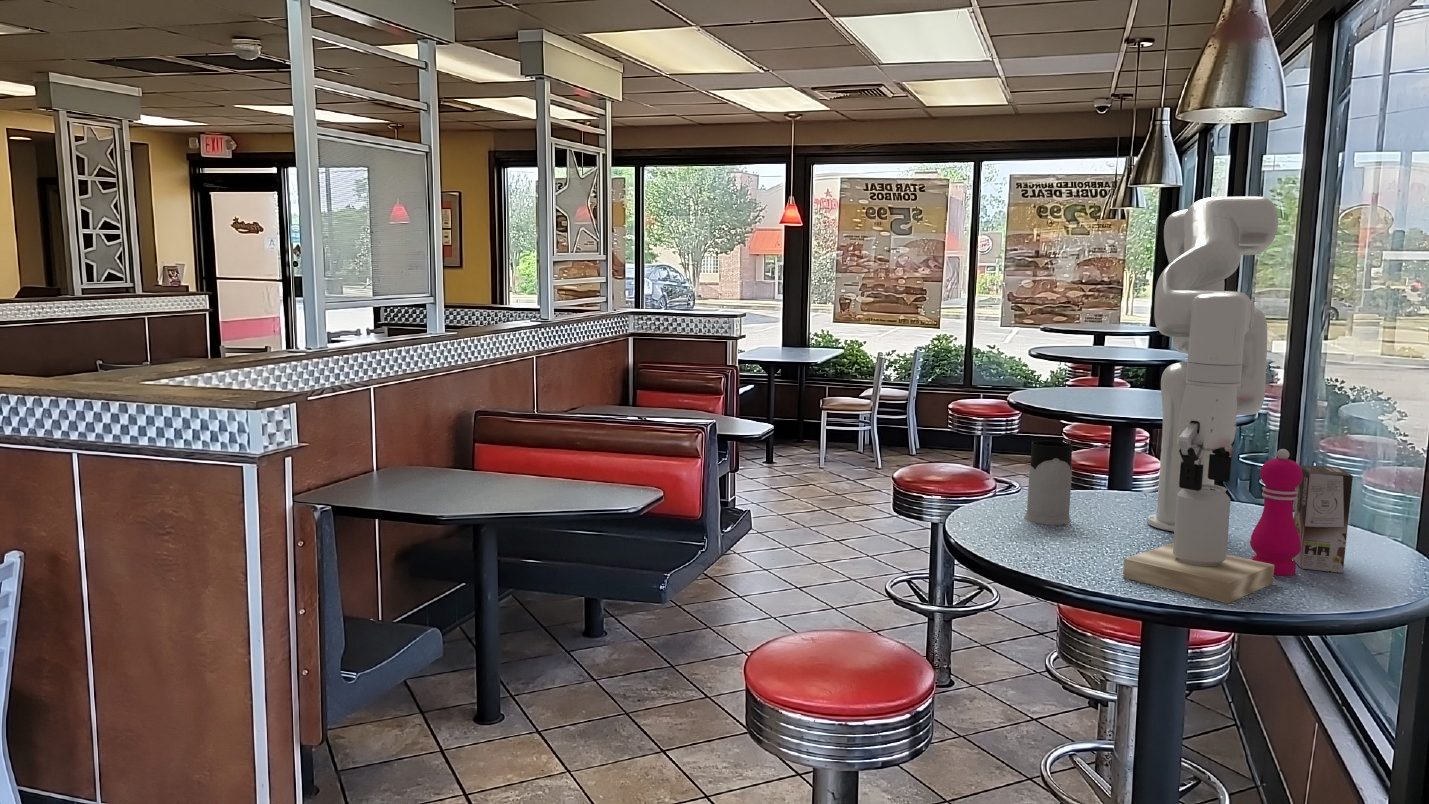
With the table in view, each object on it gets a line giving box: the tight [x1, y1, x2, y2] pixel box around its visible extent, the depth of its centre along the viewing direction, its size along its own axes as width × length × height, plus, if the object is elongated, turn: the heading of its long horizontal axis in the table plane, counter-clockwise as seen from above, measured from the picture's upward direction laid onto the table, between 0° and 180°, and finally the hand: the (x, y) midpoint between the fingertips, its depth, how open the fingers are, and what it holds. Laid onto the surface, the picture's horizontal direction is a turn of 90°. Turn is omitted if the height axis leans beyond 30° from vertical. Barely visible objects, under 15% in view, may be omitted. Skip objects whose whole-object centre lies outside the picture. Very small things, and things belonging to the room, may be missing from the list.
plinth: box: [1122, 542, 1275, 604], centre depth 157 cm, size 16×16×3 cm
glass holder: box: [1024, 440, 1073, 526], centre depth 199 cm, size 9×14×15 cm, turn 174°
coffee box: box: [1292, 464, 1354, 574], centre depth 167 cm, size 9×6×16 cm
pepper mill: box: [1249, 448, 1303, 577], centre depth 163 cm, size 7×7×20 cm
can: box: [1173, 483, 1231, 566], centre depth 157 cm, size 8×8×12 cm
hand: (1204, 484), depth 156 cm, fingers open, 9 cm apart
